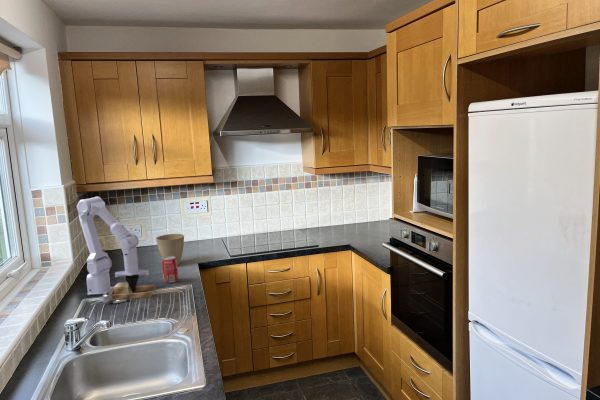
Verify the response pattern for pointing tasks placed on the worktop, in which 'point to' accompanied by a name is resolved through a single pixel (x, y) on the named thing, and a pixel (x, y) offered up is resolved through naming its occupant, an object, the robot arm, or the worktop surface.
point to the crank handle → (122, 300)
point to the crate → (122, 288)
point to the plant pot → (171, 245)
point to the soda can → (170, 269)
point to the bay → (135, 295)
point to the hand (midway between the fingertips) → (133, 291)
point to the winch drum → (108, 298)
